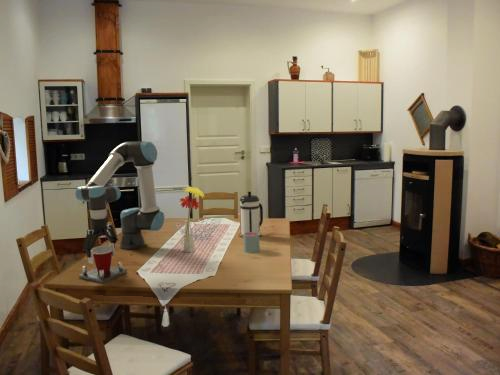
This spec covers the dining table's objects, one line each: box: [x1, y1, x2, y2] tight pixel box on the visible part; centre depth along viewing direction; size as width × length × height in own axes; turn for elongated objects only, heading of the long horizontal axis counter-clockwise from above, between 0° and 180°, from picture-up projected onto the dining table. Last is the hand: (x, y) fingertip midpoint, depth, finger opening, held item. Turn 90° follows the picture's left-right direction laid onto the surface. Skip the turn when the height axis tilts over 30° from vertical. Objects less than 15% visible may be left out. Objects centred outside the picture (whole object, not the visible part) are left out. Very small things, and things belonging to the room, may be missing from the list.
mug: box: [242, 232, 261, 254], centre depth 248 cm, size 14×9×10 cm
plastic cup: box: [92, 245, 115, 273], centre depth 210 cm, size 11×11×12 cm
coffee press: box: [238, 191, 264, 238], centre depth 277 cm, size 17×16×30 cm
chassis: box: [78, 261, 128, 284], centre depth 211 cm, size 16×16×6 cm
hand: (102, 259), depth 210 cm, fingers open, 13 cm apart
